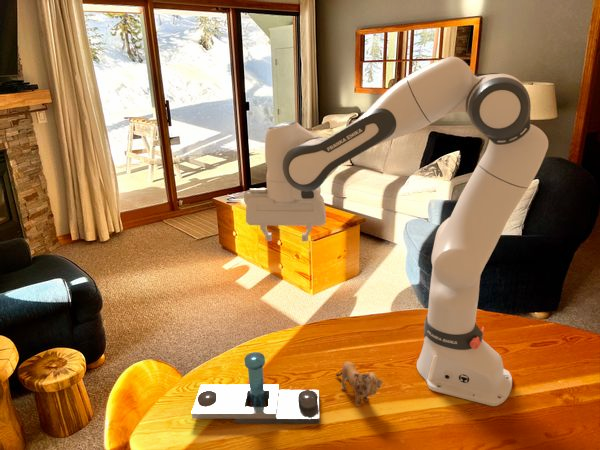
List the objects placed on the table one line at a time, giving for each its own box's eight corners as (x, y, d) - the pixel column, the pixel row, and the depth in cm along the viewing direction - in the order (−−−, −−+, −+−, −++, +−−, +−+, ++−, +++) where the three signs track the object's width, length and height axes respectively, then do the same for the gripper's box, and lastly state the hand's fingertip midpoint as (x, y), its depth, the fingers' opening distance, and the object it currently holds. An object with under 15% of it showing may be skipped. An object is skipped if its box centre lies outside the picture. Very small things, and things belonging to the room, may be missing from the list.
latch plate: (318, 394, 110) (318, 383, 108) (319, 423, 101) (319, 411, 100) (202, 395, 111) (200, 383, 109) (193, 423, 102) (191, 411, 101)
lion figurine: (384, 406, 106) (386, 374, 102) (367, 417, 103) (368, 384, 100) (343, 372, 117) (344, 343, 114) (327, 381, 114) (326, 350, 111)
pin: (271, 406, 106) (268, 356, 101) (259, 418, 103) (255, 367, 98) (257, 399, 109) (253, 349, 104) (244, 410, 106) (240, 360, 101)
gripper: (240, 192, 112) (244, 244, 117) (325, 192, 110) (325, 245, 115) (245, 185, 117) (249, 235, 122) (326, 185, 116) (326, 236, 121)
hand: (286, 240), depth 119 cm, fingers open, 8 cm apart
